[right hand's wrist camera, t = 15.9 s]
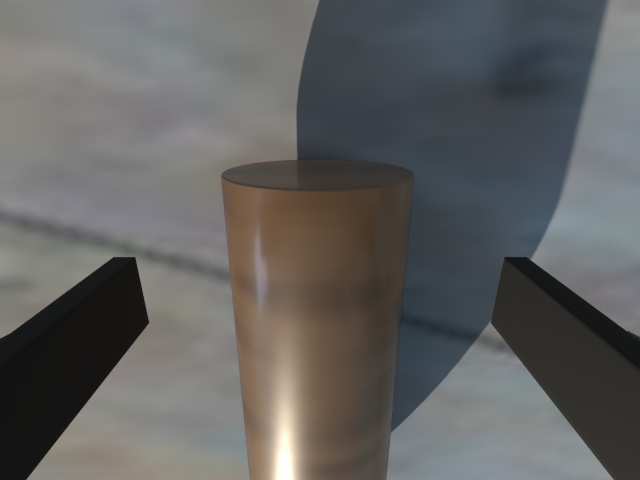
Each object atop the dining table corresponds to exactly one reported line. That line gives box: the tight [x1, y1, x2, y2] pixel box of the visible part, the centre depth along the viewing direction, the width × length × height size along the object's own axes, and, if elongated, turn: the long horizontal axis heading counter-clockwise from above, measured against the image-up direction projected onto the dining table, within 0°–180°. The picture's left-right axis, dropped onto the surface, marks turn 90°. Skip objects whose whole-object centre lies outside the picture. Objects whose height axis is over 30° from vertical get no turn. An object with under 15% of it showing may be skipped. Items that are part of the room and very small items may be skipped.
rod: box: [221, 160, 414, 480], centre depth 21 cm, size 27×9×9 cm, turn 0°
